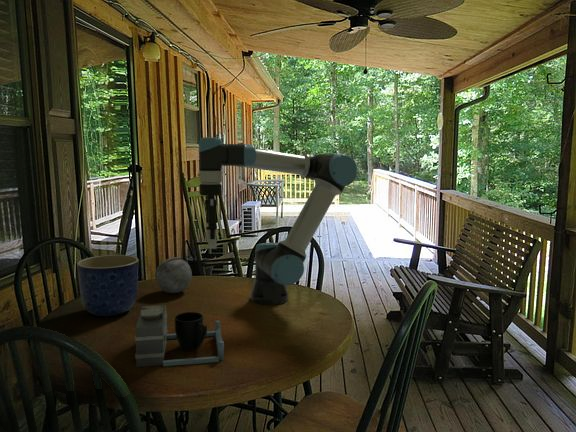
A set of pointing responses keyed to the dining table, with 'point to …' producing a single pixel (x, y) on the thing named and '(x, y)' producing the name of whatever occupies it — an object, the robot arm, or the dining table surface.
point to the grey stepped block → (151, 336)
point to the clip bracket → (204, 359)
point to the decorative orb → (173, 275)
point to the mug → (190, 330)
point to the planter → (108, 283)
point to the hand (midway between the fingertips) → (211, 244)
